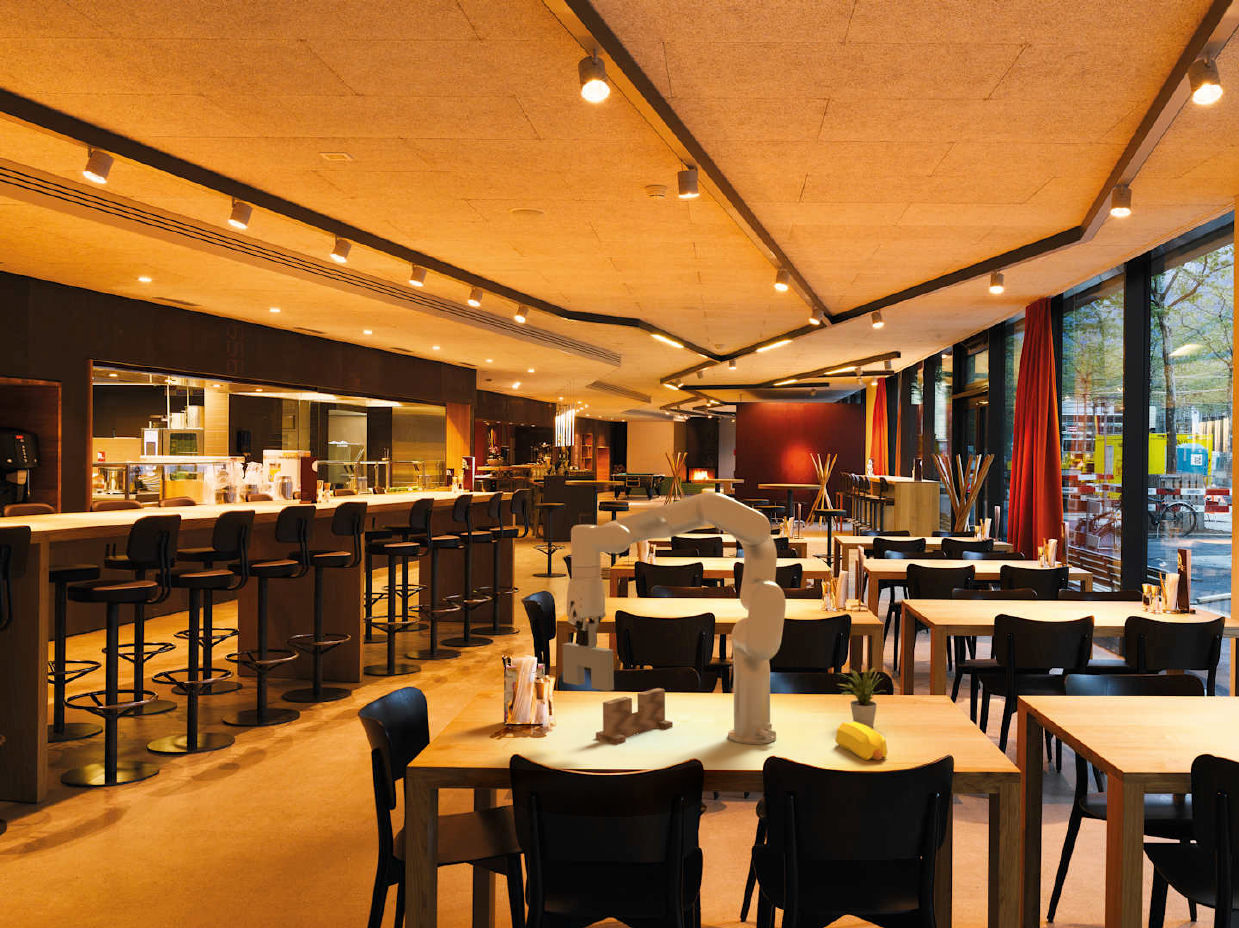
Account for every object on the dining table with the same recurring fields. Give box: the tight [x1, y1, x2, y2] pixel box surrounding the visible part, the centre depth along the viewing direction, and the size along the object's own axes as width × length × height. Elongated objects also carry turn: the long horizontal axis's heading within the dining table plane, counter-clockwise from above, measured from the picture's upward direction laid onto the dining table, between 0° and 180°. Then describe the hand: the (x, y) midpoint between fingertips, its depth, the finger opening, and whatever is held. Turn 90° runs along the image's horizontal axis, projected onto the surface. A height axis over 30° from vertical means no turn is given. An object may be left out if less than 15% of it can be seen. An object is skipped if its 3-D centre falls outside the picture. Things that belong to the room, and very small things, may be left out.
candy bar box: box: [503, 663, 546, 725], centre depth 267 cm, size 11×5×16 cm, turn 92°
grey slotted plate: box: [562, 621, 615, 692], centre depth 244 cm, size 16×2×16 cm, turn 47°
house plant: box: [836, 667, 886, 729], centre depth 264 cm, size 14×14×16 cm
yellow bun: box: [835, 721, 888, 761], centre depth 238 cm, size 18×7×8 cm
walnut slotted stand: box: [595, 687, 674, 745], centre depth 257 cm, size 22×8×10 cm, turn 137°
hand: (587, 644), depth 244 cm, fingers closed on grey slotted plate, 2 cm apart
